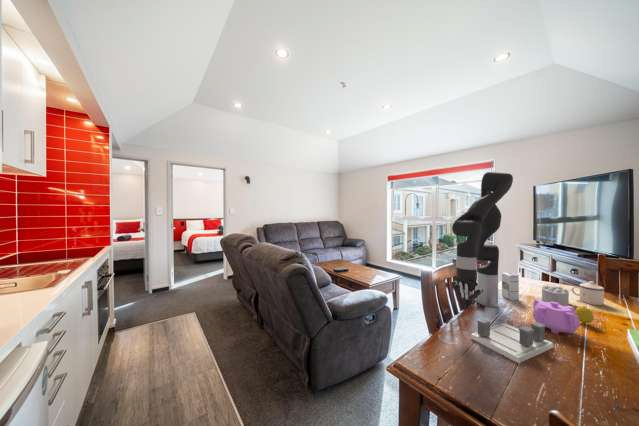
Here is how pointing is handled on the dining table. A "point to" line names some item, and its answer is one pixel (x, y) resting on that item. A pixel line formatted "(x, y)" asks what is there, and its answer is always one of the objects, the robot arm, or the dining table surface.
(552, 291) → the lumpy-topped squat cylinder
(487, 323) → the grey upright block
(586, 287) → the teacup with lid
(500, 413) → the dining table surface
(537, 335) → the handle
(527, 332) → the handle middle
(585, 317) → the lemon
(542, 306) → the purple rounded body
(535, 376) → the dining table surface
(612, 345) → the dining table surface
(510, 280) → the syrup box
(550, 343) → the panel
